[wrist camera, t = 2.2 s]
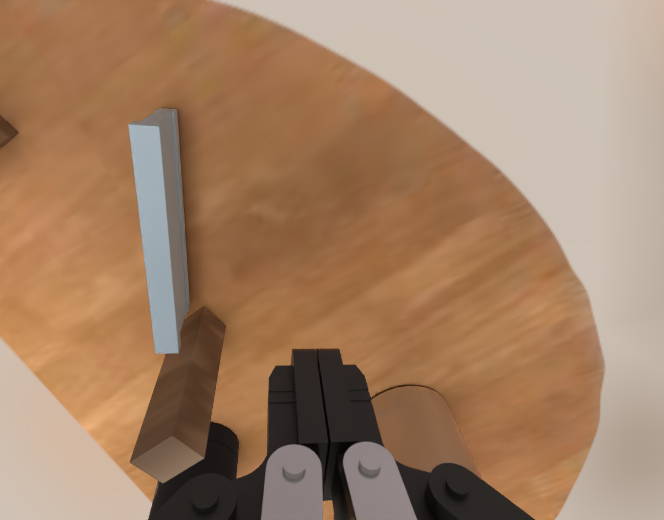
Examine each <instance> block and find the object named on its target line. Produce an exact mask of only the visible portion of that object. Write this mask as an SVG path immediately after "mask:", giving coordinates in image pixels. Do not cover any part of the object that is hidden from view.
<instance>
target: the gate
mask: <svg viewBox="0 0 664 520" xmlns="http://www.w3.org/2000/svg"><path fill="white" fill-rule="evenodd" d="M129 133H130V141H131V150H132V158H133V167H134V175H135V184H136V192H137V201H138V209H139V218H140V227H141V235H142V244H143V252H144V261H145V269H146V278H147V286H148V295H149V303H150V312H151V320H152V329H153V337H154V346H155V354H156V353H179V350H180V347H181V339H180V331H181V328H182V325H183V322H184V319H185V315H186V313H188V310H189V307H190V297H189V282H188V266H187V251H186V236H185V221H184V206H183V191H182V176H181V160H180V145H179V130H178V115H177V109H167V108H159V109H157V110H156V112H154V113H153V114H151V115H150V116H148V117H147V118H145V119H144V120H142V121H140V122H132V123H130V124H129Z"/></svg>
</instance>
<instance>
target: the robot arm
mask: <svg viewBox="0 0 664 520" xmlns="http://www.w3.org/2000/svg"><path fill="white" fill-rule="evenodd" d="M267 427H268V428H267V456H266V458H265V460H264V461H263V463H262V464H261V465H260V466H259V467H258V468H257V469H256V470H255V471H253V472H252V473H250V474H248V475H246V476H243V477H241V478H238V479H235V480H232V481H230V480H229V479H228V478H226V477H225V476H223V475H220V474H215V473H207V474H202V475H198V476H196V477H194V478H192V479H191V480H189V481H188V482H186V483H185V484H184V485H183V486H182V487H181V488H180V489H179V490H178V491H177V492H176V493H175V494H174V495H173V496H172V497H171V498H170V499H169V500H168V501H167V502H166V503H165V504H164V505H163V506H162V507H160V508H159V509H158V510H157V511H156V512H155V513H154V514H153V515H152V516H151V517H150V518H149V519H148V520H323V501H326V500H332V501H333V509H334V519H333V520H535V519H533V518H532V517H531V516H529V515H528V514H527V513H526V512H524V511H523V510H522V509H520V508H519V507H518V506H516V505H515V504H514V503H512V502H511V501H510V500H508V499H507V498H506V497H504V496H503V495H502V494H500V493H499V492H498V491H496V490H495V489H494V488H492V487H491V486H490V485H488V484H487V483H486V482H485V481H483V479H482V477H481V475H480V473H479V471H478V468H477V466H476V464H475V462H474V460H473V458H472V456H471V454H470V452H469V450H468V447H467V445H466V443H465V441H464V439H463V437H462V434H461V432H460V430H459V428H458V426H457V424H456V422H455V420H454V418H453V416H452V413H451V411H450V409H449V407H448V405H447V403H446V401H445V400H444V398H443V397H442V396H441V395H440V394H438V393H437V392H436V391H434V390H431V389H429V388H425V387H420V386H404V387H397V388H394V389H391V390H388V391H386V392H384V393H381V394H379V395H378V396H376V397H375V398H373V399H372V400H371V397H370V394H369V392H368V386H367V383H366V379H365V376H364V375H363V374H362V372H361V371H360V370H359V369H358V368H357V366H356V365H343V363H342V359H341V354H340V350H339V349H316V351H315V349H292V357H291V366H275V368H274V370H273V372H272V373H271V375H270V377H269V391H268V425H267Z"/></svg>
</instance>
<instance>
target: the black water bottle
mask: <svg viewBox="0 0 664 520" xmlns="http://www.w3.org/2000/svg"><path fill="white" fill-rule="evenodd" d="M238 450H239V442H238V440H237V437H236V435H235V434H234V433H233V432H232V431H231V430H230V429H228V428H226V427H224V426H222V425H219V424H215V423H211V422H210V427H209V433H208V439H207V445H206V451H205V458H204V459H202V460H201V461H199V462H197V463H196V464H194V465H192V466H191V467H189V468H188V469H186V470H184V471H183V472H181V473H179V474H178V475H176V476H174V477H173V478H171V479H169V480H168V481H166V482H165V483H162V482H160V481H158V484H157V488H156V492H155V495H154V499H153V503H152V507H151V511H150V515H149V518H150V517H151V516H152V515H153V514H154V513H155V512H156V511H157V510H158V509H159V508H160V507H162V506H163V505H164V504H165V503H166V502H167V501H168V500H169V499H170V498H171V497H172V496H173V495H174V494H175V493H176V492H177V491H178V490H179V489H180V488H181V487H182V486H183V485H184V484H185V483H186V482H188V481H189V480H191V479H192V478H194V477H196V476H198V475H202V474H207V473H215V474H220V475H223V476H225V477H226V478H228V479H229V480H230V481H232V480H235V479H236V474H237V462H238Z"/></svg>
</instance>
